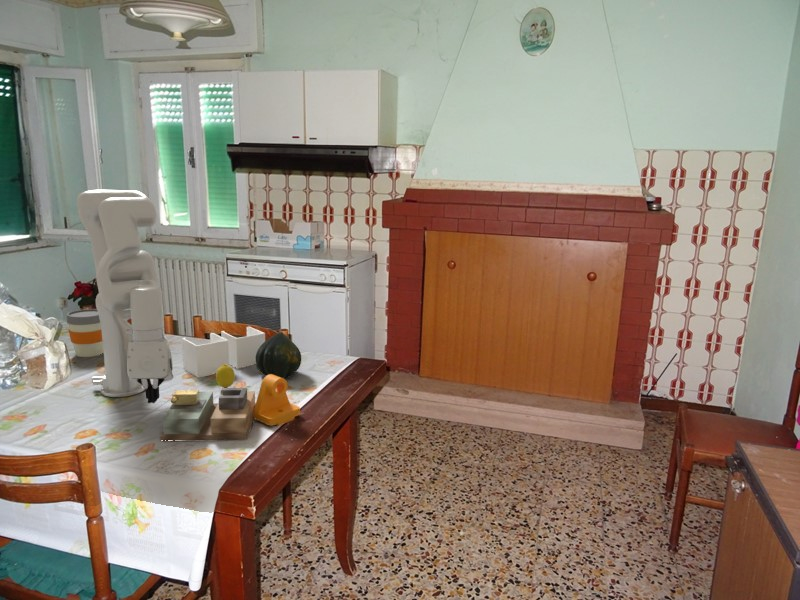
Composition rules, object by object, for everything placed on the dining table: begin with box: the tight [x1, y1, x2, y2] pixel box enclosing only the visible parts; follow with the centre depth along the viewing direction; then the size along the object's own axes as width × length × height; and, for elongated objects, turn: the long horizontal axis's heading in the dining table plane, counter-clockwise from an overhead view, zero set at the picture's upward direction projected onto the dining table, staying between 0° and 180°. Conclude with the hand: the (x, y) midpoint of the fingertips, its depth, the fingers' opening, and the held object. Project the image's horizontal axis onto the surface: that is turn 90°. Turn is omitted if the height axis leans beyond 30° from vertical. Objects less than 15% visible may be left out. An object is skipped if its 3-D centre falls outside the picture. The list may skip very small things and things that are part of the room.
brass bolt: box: [170, 389, 200, 405], centre depth 147 cm, size 6×5×3 cm
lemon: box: [215, 364, 236, 389], centre depth 174 cm, size 6×6×8 cm
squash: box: [255, 331, 302, 379], centre depth 187 cm, size 14×15×15 cm
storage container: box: [181, 326, 266, 379], centre depth 194 cm, size 25×11×11 cm, turn 134°
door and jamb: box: [159, 387, 256, 442], centre depth 150 cm, size 21×20×9 cm
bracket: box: [254, 374, 301, 427], centre depth 154 cm, size 11×7×12 cm, turn 141°
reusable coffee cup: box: [66, 308, 104, 358], centre depth 201 cm, size 13×12×15 cm
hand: (152, 401), depth 147 cm, fingers closed
